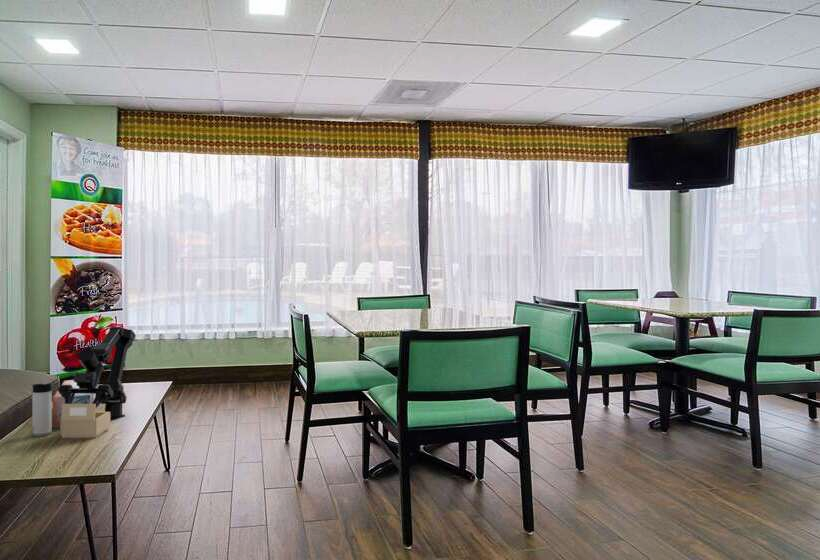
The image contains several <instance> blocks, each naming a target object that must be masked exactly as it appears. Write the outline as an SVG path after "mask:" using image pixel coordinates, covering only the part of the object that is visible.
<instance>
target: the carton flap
mask: <svg viewBox="0 0 820 560" xmlns="http://www.w3.org/2000/svg"><path fill="white" fill-rule="evenodd" d="M96 410H97V408H96V404H62V413H61V420H95V412H96Z"/></svg>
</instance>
